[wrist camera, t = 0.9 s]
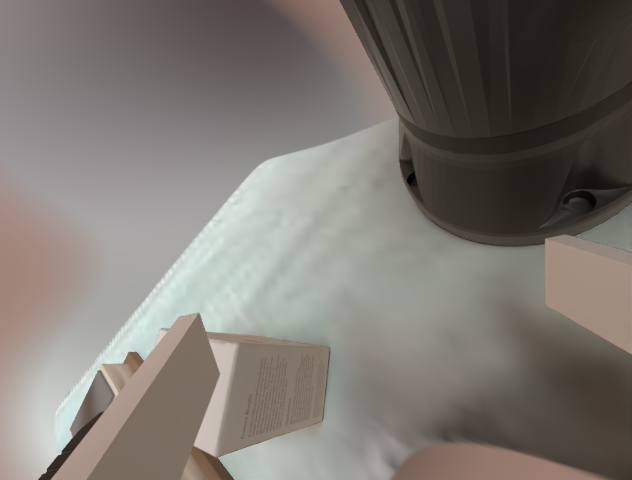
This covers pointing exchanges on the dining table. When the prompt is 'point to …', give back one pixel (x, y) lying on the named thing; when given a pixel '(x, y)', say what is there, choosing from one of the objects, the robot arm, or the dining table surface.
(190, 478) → the board
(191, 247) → the dining table surface
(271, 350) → the small box
